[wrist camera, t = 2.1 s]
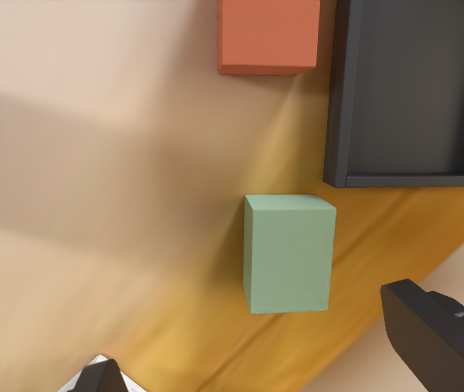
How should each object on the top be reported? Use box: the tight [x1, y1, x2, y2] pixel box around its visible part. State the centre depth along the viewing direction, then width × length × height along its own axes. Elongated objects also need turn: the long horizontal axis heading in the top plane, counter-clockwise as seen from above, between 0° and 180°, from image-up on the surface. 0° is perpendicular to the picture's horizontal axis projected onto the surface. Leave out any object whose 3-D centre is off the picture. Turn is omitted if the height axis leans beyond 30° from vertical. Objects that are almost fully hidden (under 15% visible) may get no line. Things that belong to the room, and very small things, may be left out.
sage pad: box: [243, 194, 337, 314], centre depth 23 cm, size 6×8×4 cm
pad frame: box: [323, 0, 464, 188], centre depth 22 cm, size 12×19×2 cm, turn 0°
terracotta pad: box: [218, 0, 320, 76], centre depth 19 cm, size 6×8×4 cm
